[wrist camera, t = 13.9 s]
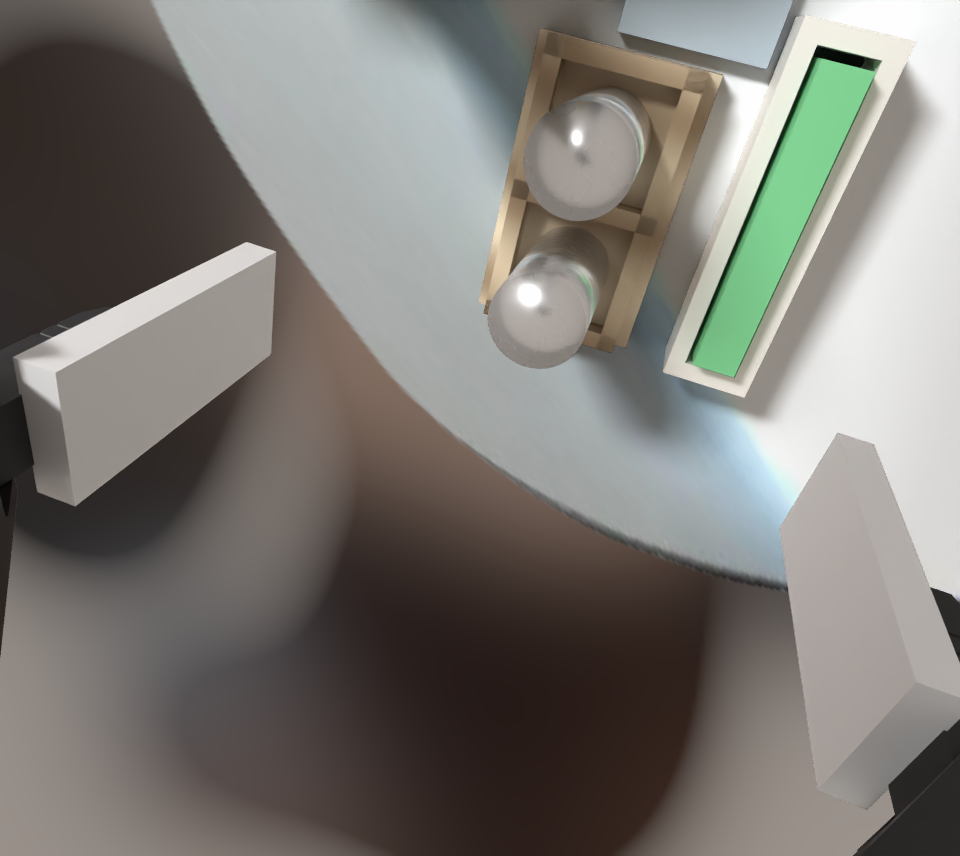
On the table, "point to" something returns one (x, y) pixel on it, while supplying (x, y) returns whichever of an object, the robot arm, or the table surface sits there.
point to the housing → (804, 37)
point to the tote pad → (710, 26)
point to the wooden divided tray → (653, 194)
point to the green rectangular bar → (779, 210)
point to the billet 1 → (587, 153)
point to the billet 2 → (549, 298)
